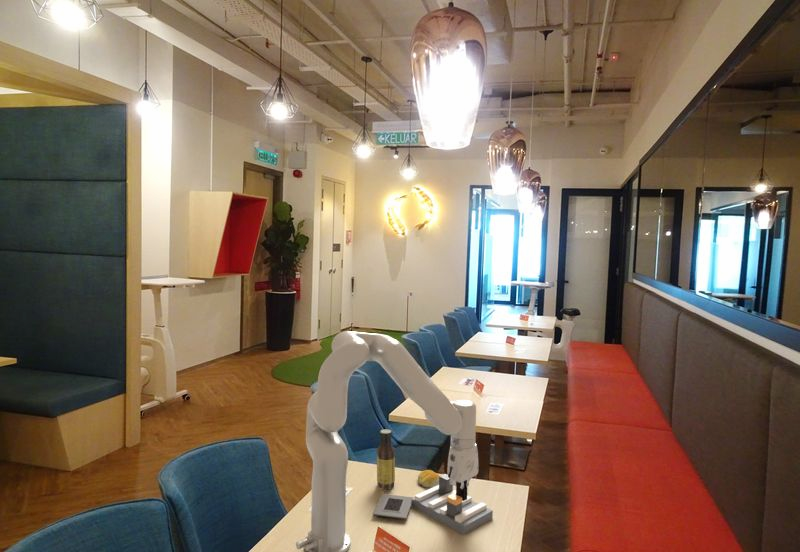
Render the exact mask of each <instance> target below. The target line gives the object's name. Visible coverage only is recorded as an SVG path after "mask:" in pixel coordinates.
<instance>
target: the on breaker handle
mask: <svg viewBox="0 0 800 552" xmlns="http://www.w3.org/2000/svg"><path fill="white" fill-rule="evenodd" d="M449 481H450V478H448V474H447V473H443V474H442V475H440V476H439V493H441V494H443V495H445V494H448V493H450V492H452V491H454V486H453V485H450V484H449Z"/></svg>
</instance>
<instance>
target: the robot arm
mask: <svg viewBox="0 0 800 552" xmlns="http://www.w3.org/2000/svg"><path fill="white" fill-rule="evenodd" d="M331 351H332V352H331V353H330V354H328V356H327V357H326V358H325V360H324V361H323V363H322V364H321V366H320V369H319V373H318V377H317V386H316V391H315V392H314V393H312V395H311V396H310V398H309V399H308V402H307V406H306V421H305V422H306V424H305V427H306V428H305V443H306V444H305V445H306V448H307V451H308V452H309V455H310V458H311V459H312V473H311V474H312V475H311V476H312V477H311V512H310V513H311V517H310V518H311V519H310V521H311V529H310V531H307V536H305V538H304V539H300V540H299V541H297V542H296V543H295V548H296V549H297V550H300V549H303V548H305V551H306V552H347V551H348V550H349V549H350V547H351V538H350V537H351V536H350V535H349V534H348V533H347V532H346V513H347V512H346V510H347V509H346V508H347V505H346V503H347V500H346V496H347V488H346V487H347V485H346V484H347V483H346V482H347V470H348V465H349V452H348V447H347V446H346V444H345V442H344V440H343V439H342V437H341V436H340V435H339V433H338V432H339V431H340V430H341V429H342V428H343V427H344V426H345V424H346V421H347V418H348V416H347V414H348V390H349V383H350V379H351V377H352V375H353V374H354V372H355V371H356V370H358V369H359V368H360V367H362V366H364V365H365V363H366V362H376V363H378V364H379V365H380V367H382V369H384V371H385V372H386V373H387V375H389V377H390V378H391V379H392V381H394V383H395V384H396V386H398V387H399V389H400V390H401V391H402V393H404V395H406V397H407V398H408V399H410V400H411V401H412V402H414V404H416V405H417V406H418V407H419V408H420V409H422V410H423V411H424V417H425V420H427V421H428V423H430V424H431V425H432V426H433V427H434V428H436V429H437V430H438V431H440V432H441V434H443V435H446V436H450V447H449V451H448V457H447V467H446V468H447V469H446V470H447V473H446V474H447V475H448V478H450V481H449V484H450V485H453V487H455V490H456V495H458V496H460V497H462V501H465V500H467V495H468V487H469V486H470V481H471V479H472V478H473V477H474V478H475V476H477V475H478V473H479V451H478V446H477V443H476V430H477V426H476V425H477V423H476V422H477V405H476V403H475V402H473V401H471V400H469V399H458V400H454V401H453V400H452V401H451V400H450V398H448V397H447V396H446V394H445V393H444V392H443V391H442V390H441V389H440V388H439V387H438V386H437V385H436V384H435V383H434V381H433V380H432V379H431V378H430V377H429V376H428V375H427V373H426V372H425V371H424V369H422V367H421V366H420V365H419V364H418V362H417V361H416V360H415V358H414V357H413V356H412V355H411V354H410V352H409V351H408V350H407V348H406V347H405V346H404V344H403V343H401V342H400V341H399V340H397V339H395V338H393V337H392V336H390V335H387V334H381V333H369V332H362V331H361V332H359V331H350V330H348V331H347V330H346V331H342V332H340V333H338V334H336V335H335V336H334V338H333V339H332V342H331Z"/></svg>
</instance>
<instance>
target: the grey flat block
mask: <svg viewBox="0 0 800 552" xmlns="http://www.w3.org/2000/svg"><path fill="white" fill-rule="evenodd" d="M414 497H415V496H414ZM414 497H413V496H405V495H404V496H403V495H397V494H387V493H382V494H381V496H380V497H379V500H378V502H377V505H376V506H375V509H373V512H372V515H373V516H375V517H380V518H381V517H382V518H391V519H397V520H407V518H408V516H409V512H410V510H411V507H412V506H411V504H412V498H414Z"/></svg>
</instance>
